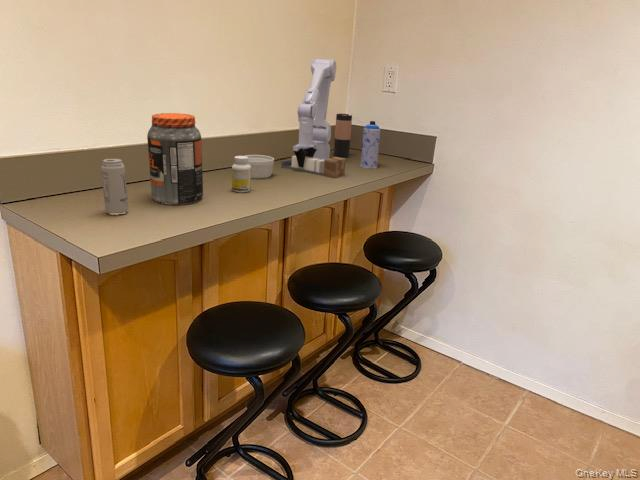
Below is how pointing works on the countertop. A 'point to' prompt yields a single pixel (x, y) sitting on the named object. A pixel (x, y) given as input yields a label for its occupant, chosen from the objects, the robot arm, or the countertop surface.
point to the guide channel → (289, 162)
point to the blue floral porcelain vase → (370, 146)
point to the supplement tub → (175, 159)
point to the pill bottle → (241, 174)
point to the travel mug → (342, 135)
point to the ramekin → (260, 166)
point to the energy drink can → (114, 186)
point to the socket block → (334, 167)
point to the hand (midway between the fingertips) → (304, 166)
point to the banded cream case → (310, 164)
